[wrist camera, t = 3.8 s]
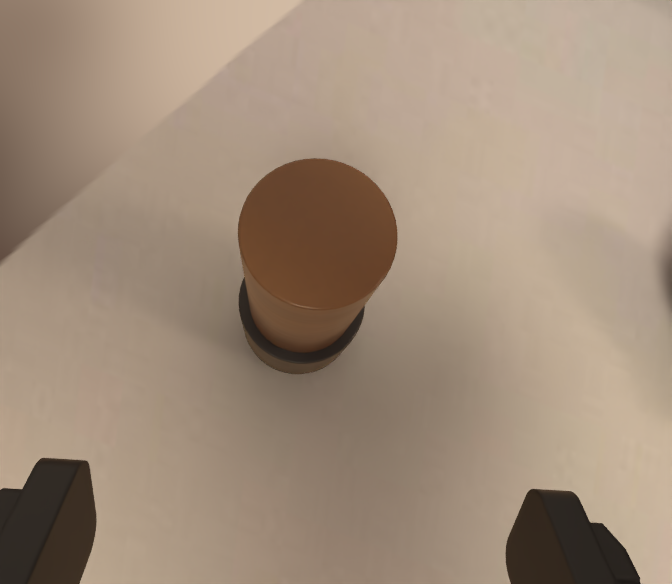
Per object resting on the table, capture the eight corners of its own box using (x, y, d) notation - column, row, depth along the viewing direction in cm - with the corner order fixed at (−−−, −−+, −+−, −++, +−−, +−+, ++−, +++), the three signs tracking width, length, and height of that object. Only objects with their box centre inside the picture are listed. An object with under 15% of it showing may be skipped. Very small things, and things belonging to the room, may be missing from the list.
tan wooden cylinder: (291, 397, 26) (309, 367, 14) (220, 313, 26) (180, 218, 14) (373, 325, 27) (452, 243, 15) (303, 247, 27) (327, 109, 16)
